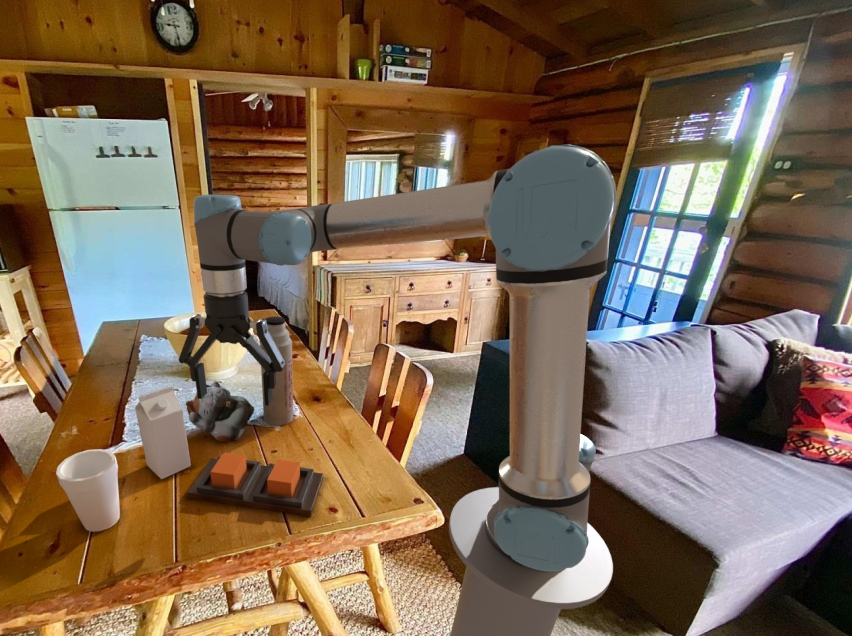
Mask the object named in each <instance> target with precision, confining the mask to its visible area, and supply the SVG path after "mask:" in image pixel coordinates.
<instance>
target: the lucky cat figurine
mask: <svg viewBox="0 0 852 636" xmlns="http://www.w3.org/2000/svg"><path fill="white" fill-rule="evenodd" d="M206 386H207V394H206V395H205V396H204V397H203V398H202V399H198V396H197V392H196V393H195V395H194V398H193V399H191V400H187V401H186V402H185V406H186V411H187V414H188V419H189V421H190V423H191V424H193V426H195V427H197V428H199V429H200V430H202V431H204V432H206V434H209V435H211V436H212V437H213V438H214V439H215V440H216V441H217V442H220V443H227V442H228V443H229V442H234V441H236V440H239V438H241V436H242V435H244V433H245V431H246V427H247V424H248V423H249V421H250V419H251V418H252V416H253V415H254V413H255V407H254V406H253V405H252V404H251V403H250V402H249V400H248V399H246V398H245V397H243V396H241V395H231V392H230V390H228V389H227V388H226V387H224V386H221V385H220V382H219V381H217V380H214V381H213V382H212V384H211V385H210V384H206Z"/></svg>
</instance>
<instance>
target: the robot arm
mask: <svg viewBox="0 0 852 636" xmlns="http://www.w3.org/2000/svg"><path fill="white" fill-rule="evenodd" d="M616 206H617V186H616V182H615V178H614V176H613V174H612V171H611V170H610V168H609V166H608V164H607V163H606V161H604V160H603V159H602V158H601V157H600V156H599V154H596V153H595V152H594V151H592V150H590V149H588V148H586V147H583V146H579V145H574V144H568V143H567V144H561V145H549V146H548V147H545V148H541V149H537V150H534V151H533V152H531V153H529V154H526V155H525V156H524V157H523V158H521V159H519V160H518V161H517V162H515V164H514V165H512V166H511V167H510V168H506V169H505V168H504V169H500V170H495V171H494V172H493V173H492V175H491V176H490V177H489V179H486V180H485V179H484V180H479V181H473V182H466V183H459V184H452V185H446V186H440V187H433V188H426V189H420V190H412V191H406V192H400V193H393V194H386V195H380V196H379V195H378V196H371V197H365V198H359V199H353V200H345V201H339V202H334V203H325V204H316V205H310V206H305V207H298V208H290V209H280V210H273V211H272V210H271V211H261V210H246V209H243V207H242V202H241V199H240V197H239V196H237V195H233V194H201V195H197V196H196V197H195V198H194V200H193V219H194V220H193V221H194V222H193V226H194V229H195V230H194V231H195V235H196V245H197V252H198V259H199V267H200V277H201V279H200V280H201V287H202V291H203V292H204V294H203V304H204V312H205V315H206V316H202V315H201V314H200V313H196V314H195V315H193V316H191V317H190V318H189V330H188V333H187V335H186V338H185V341H184V343H183V346H182V349H181V351H180V353H179V357H178V362H179V363H180V364H186V365H187V366H188V367H189V372H190V379H191V381H192V382H193V383H194V382H195V387H196V388H195V389H196V393H197V396H198V399H202V398H203V397H204V396H205V395H206V394H207V386H206V385H207V380H206V379H207V378H206V372H205V371H206V370H205V365H204V362H200V361H201V360H202V358H203V357H204V356H205V355H206V354H207V352H208V351H209V350H210V349H211V348H212V346H213V345H214V343H215V342H216V341H218V342H219V344H227V343H229V344H232V345H237V344H239V345H240V346H241V347H242V348H245V349H246V351H247V352H248V353H249V354H250V355H251V356H252V358H253V359H254V360H256V362H257V363H258V364H259V366H260V367H261V366H262V367H263V368H264V370H265V372H264V374H263V383H264V400H265V405H267V406H269V404H270V403H271V401H272V399H273V396H272V389H274V388H275V386H276V384H277V381H276V372H281V371H282V370H283V368H284V367H285V365H286V363H285V361H284V359H283V357H282V355H281V354H280V352H279V350H278V348H277V346H276V344H275V342H274V340H273V339H272V337H271V335H270V333H269V331H268V327H267V321H266V318H263V317H262V318H260V319H259V320H252V319H251V318H250V315H249V312H250V311H249V300H248V299H249V297H248V292H247V291H246V290H247V288H248V287H247V273H246V272H247V269H246V261H251V262H258V263H267V264H272V265H276V266H298V265H301V264H302V263H303V262H304V261H305V258H307V257H308V256H309V254H310V253H311V254H312V253H315V252H325V251H335V250H343V249H352V248H353V249H354V248H355V249H356V248H365V247H376V246H378V247H379V246H386V245H387V246H388V245H389V246H391V245H399V244H411V243H412V244H413V243H423V242H435V241H447V240H458V239H469V238H470V239H471V238H482V237H487V238H489V239H490V240H491V242H492V244H493V246H494V248H495V278H496V280H495V281H496V283H497V284H498V285H499V286H501V287H502V288H503V289H504V290H506V291H507V293H508V294H509V456H507V457H505V458H504V459H503V460H502V461H501V462H500V464H499V467H498V487H499V499H498V501H497V502H496V503H495V504H493V505H492V506H493V507H492V506H491V507H492V508H491V509H490V511H489V512H488V515H487V518H486V522H485V531H486V534H487V537H488V539H489V540H490V542H491V543H492V545H493V546H494V547H495V548H496V549H497V550H498V551H499V552H501V553H502V554H503V555H504V556H506V557H507V558H509V559H511V560H513V561H514V562H517V563H519V564H521V565H524V566H527V567H529V568H533V569H536V570H541V571H563V570H565V569H566V568H572V567H574V566H576V565H577V564H579V563H580V562H581V561H582V559H583V558H584V556H585V553H586V548H587V547H588V543H589V540H588V536H587V523H588V519H589V518H588V517H589V505H590V492H591V491H590V490H591V474H590V470H591V467H592V465H593V463H594V462H595V461H596V458H595V457H596V451H597V449H596V446H595V444H594V442H593V441H592V440H590V438H589V437H587V436H585V435H583V434H581V432H582V431H581V430H582V417H583V400H584V385H585V369H586V368H585V367H586V353H587V339H588V337H587V336H588V324H589V323H588V322H589V307H590V306H589V305H590V291H591V289H592V287H593V286H594V285H596V283H598V281H600V280H601V279H602V278H603V277H604V276H605V275H606V274H607V272H608V271H607V269H608V261H609V260H608V258H609V245H610V234H611V223H612V218H613V217H614V216H615V215H614V214H615V210H616ZM204 327H205V328H206V329H208V331H209V332H210V333H209V335H208V336H207V337H206V339H205V340H204V342H202V344H201V345H200V347H199V348H198V349H197V350H196V352H195V353H194V355H193V356H192V353H193V351H194V350H195V349H194V348H195V346H196V343H197V340H198V338H199V336H200V333H201V330H202V329H203V328H204ZM251 329H253V332H254V333H255V334H257V337H258V339H259V342H260V341H261V343H262V345H263V346H264V348H265V350H266V352H267V354H268V355H267V354H266V353H265V351H264V350H263V349H262V348H261V347H260V344H259V343H258V342H257V341H256V340H255V337H254V336H253V334H251V332H250V330H251Z"/></svg>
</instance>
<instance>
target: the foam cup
mask: <svg viewBox="0 0 852 636" xmlns="http://www.w3.org/2000/svg"><path fill="white" fill-rule="evenodd" d="M118 472H119V466H118V461H117V457H116V455H115V454H114V453H113V452H112V451H111V450H107V449H103V448H97V449H95V448H94V449H86V450H83V451H80V452H76V453H74V454H72V455H70V456H68V457H67V458H65V459H64V460H63V461H61V463H60V464H59V465H57V468H56V472H55V475H56V479H57V480H58V484H59V486H60V487H61V488H62V489H63V491H64V493H65V495H66V496H67V499H68V500H69V502H70V504H71V506H72V508H73V509H74V511H75V513H76V515H77V517H78V518H79V520H80V523H81V525H82V526H83V527H84V529H85V530H86V531H89V532H92V533H94V532H102V531H105V530H107V529H110V528H111V527H113V526H114V525H115V524H117V523H118V521H119V520H120V518H121V517H120V516H121V507H120V495H119V493H120V492H119V480H118Z"/></svg>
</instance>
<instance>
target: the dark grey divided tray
mask: <svg viewBox="0 0 852 636" xmlns="http://www.w3.org/2000/svg"><path fill="white" fill-rule="evenodd" d="M220 457H221V456H219V455H218V456H217V457H216V458H213V457H212V458H211V459H210V460H209V461H208V462H207V464H206V465H205V467H204V468H203V469H202V471H201V472H200V473H199V475H198V476H197V477H196V478H195V480H194V481H193V483H192V484H191V485H190V487H189V488H188V489H187V491H186V496H187V499H193V500H199V501H205V502H211V503H220V504H223V505H232V506H238V507H244V508H252V509H257V510H258V509H259V510H265V511H271V512H278V513H284V514H285V513H286V514H290V515H299V516H304V517H312V516H313V512H314V509H315V505H316V503H317V499H318V496H319V493H320V490H321V487H322V485H323V480H324V473H321V472H315V469H313V468H307V467H302V466H300V478H299V481H298V484H297V486H296V489H295V491H294V494H293V496H292V498H287V497H280V496H274V495H268V487H267V479H268V477H269V475H270V473H271V471H272V469H273V467H274V465H275V463H272V462H270V463H269V464H268V465H263V464H262V462H261V461H257V460H250V459H249V460H248V459H246V467H247V470H246V472H245V474H244V476H243V477H242V479H241V481H240V483H239V484H238V486H237V488H236V490H233V489H226V488H219V487H212V481H211V473H210V472H211V470H212V469H213V467H214V466H215V464H216V463H217V462H218V460H219V459H220Z"/></svg>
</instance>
